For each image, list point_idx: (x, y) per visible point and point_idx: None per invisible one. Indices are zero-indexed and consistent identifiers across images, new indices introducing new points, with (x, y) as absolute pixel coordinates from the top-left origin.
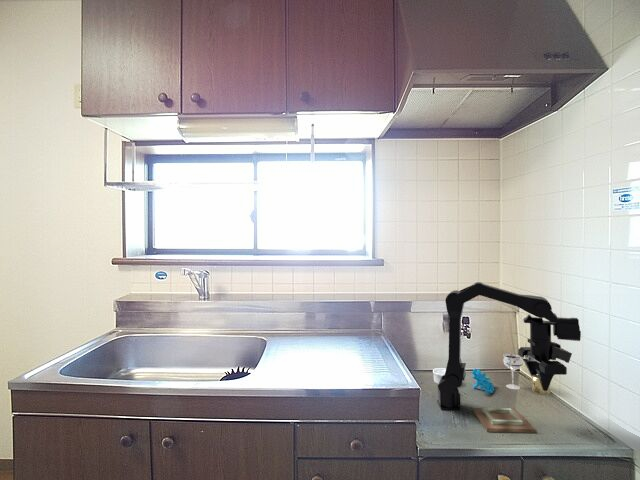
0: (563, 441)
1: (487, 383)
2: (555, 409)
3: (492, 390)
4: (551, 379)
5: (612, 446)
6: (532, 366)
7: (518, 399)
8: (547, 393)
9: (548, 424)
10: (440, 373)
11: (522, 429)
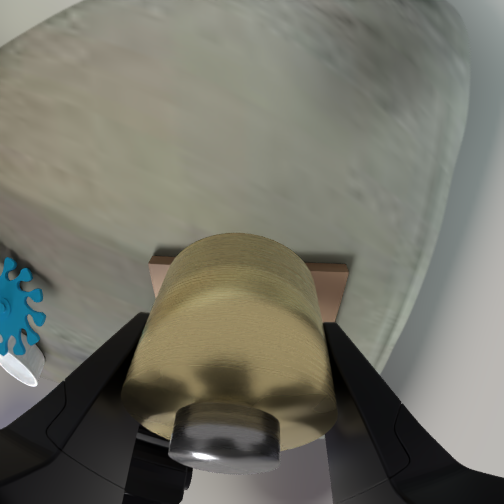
0: (419, 199)
1: (4, 290)
2: (106, 61)
3: (15, 264)
4: (420, 426)
5: (464, 44)
6: (106, 494)
7: (39, 194)
8: (315, 289)
9: (278, 172)
10: (6, 354)
11: (337, 309)
